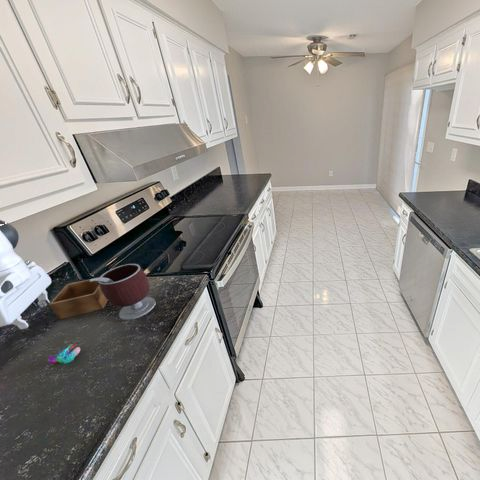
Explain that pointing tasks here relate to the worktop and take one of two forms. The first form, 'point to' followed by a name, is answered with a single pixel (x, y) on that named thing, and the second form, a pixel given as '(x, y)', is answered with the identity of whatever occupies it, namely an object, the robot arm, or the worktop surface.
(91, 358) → the worktop surface
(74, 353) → the anatomy model
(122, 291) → the mate gourd
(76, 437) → the worktop surface
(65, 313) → the crate
